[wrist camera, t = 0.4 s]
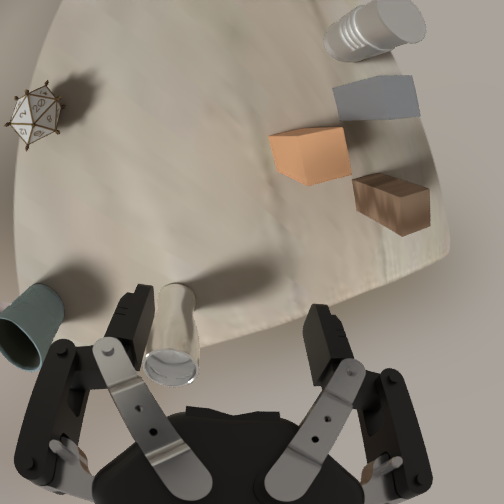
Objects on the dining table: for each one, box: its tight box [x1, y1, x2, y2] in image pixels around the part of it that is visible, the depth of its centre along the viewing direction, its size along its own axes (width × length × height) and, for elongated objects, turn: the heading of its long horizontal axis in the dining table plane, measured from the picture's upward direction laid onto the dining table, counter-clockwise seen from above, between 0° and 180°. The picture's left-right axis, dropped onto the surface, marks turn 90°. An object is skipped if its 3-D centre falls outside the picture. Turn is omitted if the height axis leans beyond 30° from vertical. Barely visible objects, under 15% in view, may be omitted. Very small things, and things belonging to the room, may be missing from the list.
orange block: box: [268, 127, 352, 186], centre depth 32 cm, size 5×5×12 cm
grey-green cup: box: [0, 284, 64, 372], centre depth 34 cm, size 10×10×12 cm
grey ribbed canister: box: [324, 0, 426, 62], centre depth 25 cm, size 7×7×15 cm
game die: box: [5, 80, 66, 151], centre depth 25 cm, size 9×8×10 cm
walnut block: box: [352, 173, 430, 237], centre depth 36 cm, size 5×5×12 cm
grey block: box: [332, 75, 420, 121], centre depth 30 cm, size 5×5×12 cm
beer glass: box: [142, 284, 200, 388], centre depth 36 cm, size 7×7×15 cm
